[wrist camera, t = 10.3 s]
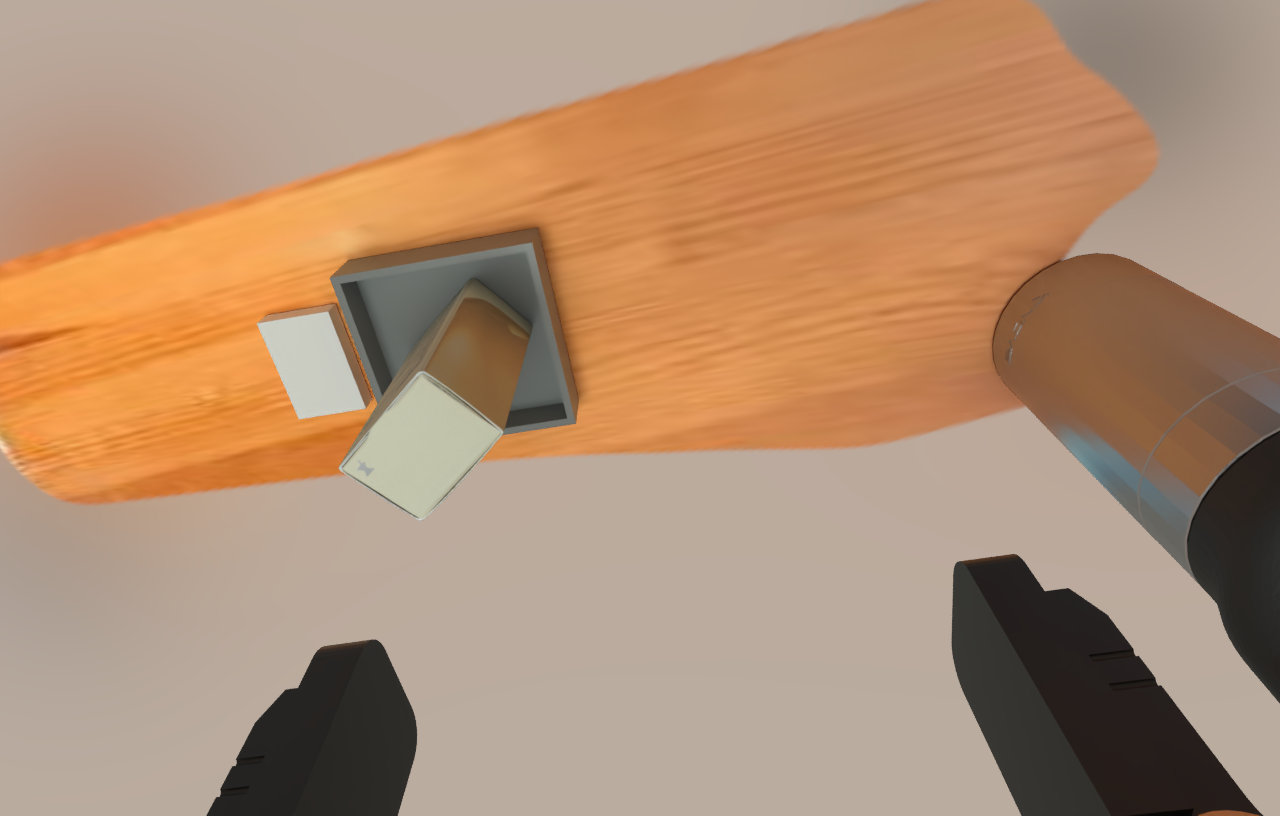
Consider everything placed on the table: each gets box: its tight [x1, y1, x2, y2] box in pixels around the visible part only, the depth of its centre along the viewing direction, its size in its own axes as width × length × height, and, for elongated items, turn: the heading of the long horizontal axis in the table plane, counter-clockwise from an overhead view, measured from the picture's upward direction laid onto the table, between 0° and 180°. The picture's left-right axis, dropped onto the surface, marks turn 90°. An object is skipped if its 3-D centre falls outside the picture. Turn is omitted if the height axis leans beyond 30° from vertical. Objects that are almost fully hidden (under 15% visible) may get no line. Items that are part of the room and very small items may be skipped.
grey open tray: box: [257, 228, 579, 435], centre depth 42 cm, size 16×10×3 cm, turn 100°
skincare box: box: [339, 278, 533, 521], centre depth 37 cm, size 6×4×12 cm
